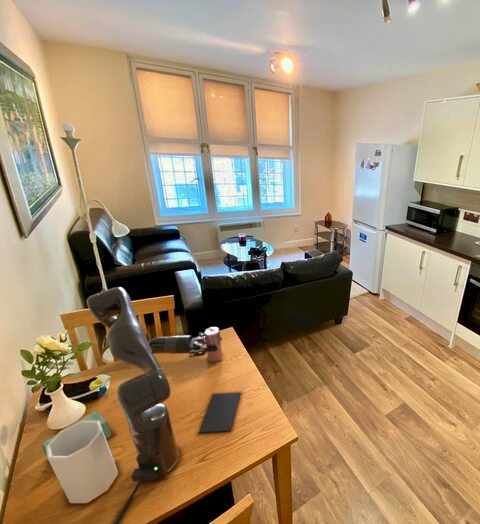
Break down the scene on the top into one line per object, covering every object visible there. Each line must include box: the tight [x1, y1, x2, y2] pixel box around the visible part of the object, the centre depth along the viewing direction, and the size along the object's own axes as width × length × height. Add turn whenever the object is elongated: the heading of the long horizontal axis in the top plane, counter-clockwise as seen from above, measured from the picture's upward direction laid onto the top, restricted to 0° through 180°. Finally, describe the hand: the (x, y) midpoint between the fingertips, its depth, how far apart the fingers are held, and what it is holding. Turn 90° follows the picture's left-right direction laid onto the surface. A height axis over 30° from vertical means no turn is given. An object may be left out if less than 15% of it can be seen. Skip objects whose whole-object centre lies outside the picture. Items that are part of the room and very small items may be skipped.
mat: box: [199, 392, 241, 434], centre depth 105 cm, size 16×10×1 cm, turn 8°
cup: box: [46, 421, 119, 504], centre depth 78 cm, size 11×11×18 cm
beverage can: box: [204, 326, 223, 363], centre depth 127 cm, size 6×6×15 cm
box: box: [41, 410, 113, 458], centre depth 89 cm, size 7×14×8 cm, turn 153°
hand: (219, 343), depth 127 cm, fingers closed on beverage can, 6 cm apart
